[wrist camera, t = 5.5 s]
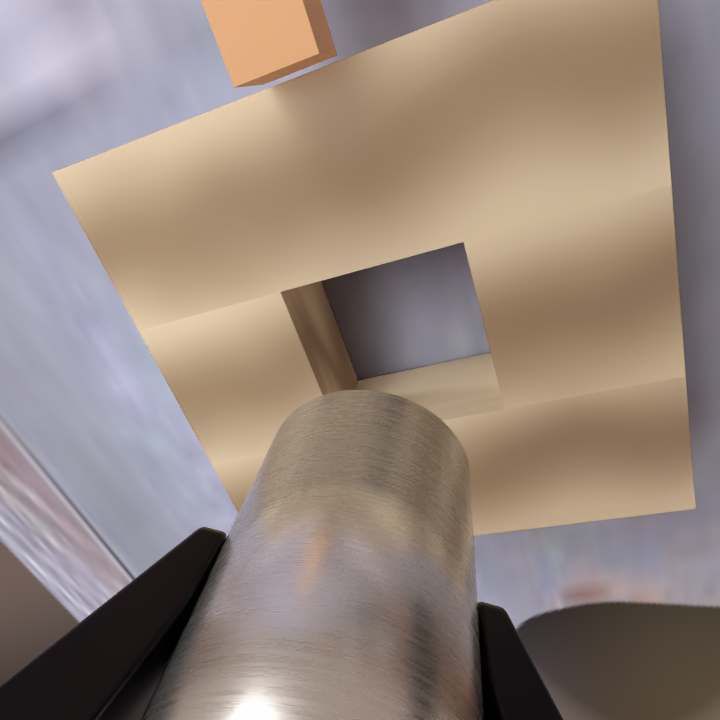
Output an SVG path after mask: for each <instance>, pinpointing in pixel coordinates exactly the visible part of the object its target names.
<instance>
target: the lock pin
mask: <svg viewBox="0 0 720 720" xmlns="http://www.w3.org/2000/svg"><path fill="white" fill-rule="evenodd" d="M201 2H202V4H203V7H204V10H205V12H206V15H207V17H208V20H209V23H210V25H211V28H212V31H213V33H214V36H215V38H216V41H217V44H218V46H219V49H220V51H221V54H222V57H223V59H224V62H225V64H226V67H227V70H228V72H229V75H230V78H231V80H232V83H233V85H234V87H243V86H254V85H263V84H266V83H268V82H271V81H273V80H276V79H278V78H281V77H283V76H286V75H288V74H291V73H294V72H296V71H299V70H301V69H304V68H306V67H309V66H311V65H314V64H316V63H319V62H322V61H324V60H327V59H329V58H332V57H334V56H337V53H336V50H335V46H334V43H333V40H332V37H331V33H330V30H329V27H328V23H327V20H326V17H325V13H324V10H323V7H322V3H321V0H201Z"/></svg>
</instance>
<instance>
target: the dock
mask: <svg viewBox="0 0 720 720" xmlns="http://www.w3.org/2000/svg"><path fill="white" fill-rule="evenodd" d="M53 175H54V177H55V179H56V181H57V183H58V184H59V186H60V188H61V190H62V192H63V194H64V195H65V197H66V199H67V201H68V203H69V205H70V206H71V208H72V210H73V212H74V214H75V215H76V217H77V219H78V221H79V223H80V225H81V226H82V228H83V230H84V232H85V234H86V236H87V237H88V239H89V241H90V243H91V245H92V247H93V248H94V250H95V252H96V254H97V256H98V257H99V259H100V261H101V263H102V265H103V267H104V268H105V270H106V272H107V274H108V276H109V278H110V279H111V281H112V283H113V285H114V287H115V289H116V290H117V292H118V294H119V296H120V298H121V300H122V301H123V303H124V305H125V307H126V309H127V310H128V312H129V314H130V316H131V318H132V320H133V321H134V323H135V325H136V327H137V329H138V331H139V332H140V334H141V336H142V338H143V340H144V342H145V343H146V345H147V347H148V349H149V351H150V352H151V354H152V356H153V358H154V360H155V362H156V363H157V365H158V367H159V369H160V371H161V373H162V374H163V376H164V378H165V380H166V382H167V384H168V385H169V387H170V389H171V391H172V393H173V395H174V396H175V398H176V400H177V402H178V404H179V405H180V407H181V409H182V411H183V413H184V415H185V416H186V418H187V420H188V422H189V424H190V426H191V427H192V429H193V431H194V433H195V435H196V437H197V438H198V440H199V442H200V444H201V446H202V447H203V449H204V451H205V453H206V455H207V457H208V458H209V460H210V462H211V464H212V466H213V468H214V469H215V471H216V473H217V475H218V477H219V479H220V480H221V482H222V484H223V486H224V488H225V489H226V491H227V493H228V495H229V497H230V499H231V500H232V502H233V504H234V506H235V508H236V510H237V511H238V513H239V511H240V509H241V507H242V505H243V503H244V501H245V498H246V496H247V494H248V492H249V490H250V488H251V486H252V484H253V482H254V479H255V477H256V475H257V473H258V471H259V469H260V467H261V465H262V463H263V460H264V458H265V456H266V454H267V452H268V450H269V448H270V446H271V444H272V441H273V439H274V437H275V435H276V433H277V431H278V429H279V428H280V426H281V425H282V423H283V422H284V421H285V420H286V419H287V417H288V416H289V415H290V414H291V413H292V412H294V411H295V410H296V409H298V408H299V407H300V406H302V405H303V404H305V403H307V402H309V401H310V400H313V399H315V398H317V397H320V396H322V395H326V394H330V393H333V392H338V391H346V390H372V391H380V392H385V393H390V394H394V395H397V396H400V397H403V398H406V399H408V400H411V401H413V402H415V403H417V404H419V405H421V406H423V407H424V408H426V409H428V410H429V411H431V412H432V413H433V414H435V415H436V416H437V417H439V418H440V419H441V420H442V421H443V422H444V423H445V424H446V425H447V426H448V427H449V428H450V429H451V430H452V431H453V433H454V434H455V435H456V437H457V438H458V439H459V441H460V443H461V445H462V446H463V448H464V450H465V453H466V456H467V458H468V462H469V467H470V473H471V492H472V511H473V530H474V536H475V535H484V534H492V533H500V532H509V531H517V530H525V529H533V528H542V527H550V526H558V525H566V524H575V523H583V522H591V521H600V520H608V519H616V518H624V517H633V516H641V515H649V514H657V513H666V512H674V511H682V510H690V509H696V508H695V494H694V481H693V468H692V454H691V441H690V427H689V414H688V400H687V387H686V373H685V360H684V346H683V333H682V319H681V306H680V293H679V279H678V266H677V252H676V239H675V225H674V212H673V198H672V185H671V171H670V158H669V145H668V131H667V118H666V104H665V91H664V77H663V64H662V50H661V37H660V23H659V10H658V0H493V1H491V2H488V3H486V4H483V5H481V6H478V7H475V8H473V9H470V10H468V11H465V12H463V13H460V14H457V15H455V16H452V17H450V18H447V19H445V20H442V21H440V22H437V23H434V24H432V25H429V26H427V27H424V28H422V29H419V30H416V31H414V32H411V33H409V34H406V35H404V36H401V37H399V38H396V39H393V40H391V41H388V42H386V43H383V44H381V45H378V46H375V47H373V48H370V49H368V50H365V51H363V52H360V53H358V54H355V55H352V56H350V57H347V58H345V59H342V60H340V61H337V62H335V63H332V64H329V65H327V66H324V67H322V68H319V69H317V70H314V71H311V72H309V73H306V74H304V75H301V76H299V77H296V78H294V79H291V80H288V81H286V82H283V83H281V84H278V85H276V86H273V87H270V88H268V89H265V90H263V91H260V92H258V93H255V94H253V95H250V96H247V97H245V98H242V99H240V100H237V101H235V102H232V103H229V104H227V105H224V106H222V107H219V108H217V109H214V110H212V111H209V112H206V113H204V114H201V115H199V116H196V117H194V118H191V119H188V120H186V121H183V122H181V123H178V124H176V125H173V126H171V127H168V128H165V129H163V130H160V131H158V132H155V133H153V134H150V135H147V136H145V137H142V138H140V139H137V140H135V141H132V142H130V143H127V144H124V145H122V146H119V147H117V148H114V149H112V150H109V151H106V152H104V153H101V154H99V155H96V156H94V157H91V158H89V159H86V160H83V161H81V162H78V163H76V164H73V165H71V166H68V167H65V168H63V169H60V170H58V171H55V172H53ZM462 242H464V246H465V250H466V254H467V258H468V262H469V266H470V270H471V274H472V278H473V282H474V286H475V290H476V295H477V299H478V303H479V307H480V311H481V315H482V319H483V323H484V327H485V331H486V335H487V339H488V343H489V347H490V353H486V354H481V355H476V356H472V357H467V358H462V359H458V360H453V361H448V362H443V363H439V364H434V365H429V366H425V367H420V368H415V369H411V370H406V371H401V372H396V373H392V374H387V375H382V376H378V377H373V378H368V379H363V380H359V381H358V379H357V376H356V373H355V371H354V368H353V365H352V363H351V360H350V357H349V355H348V352H347V349H346V347H345V344H344V341H343V339H342V336H341V333H340V331H339V328H338V325H337V322H336V320H335V317H334V314H333V312H332V309H331V306H330V304H329V301H328V298H327V296H326V293H325V290H324V288H323V285H322V282H321V281H322V280H326V279H330V278H333V277H337V276H341V275H344V274H348V273H352V272H355V271H359V270H363V269H366V268H370V267H374V266H377V265H381V264H385V263H388V262H392V261H396V260H399V259H403V258H407V257H410V256H414V255H418V254H421V253H425V252H429V251H432V250H436V249H440V248H444V247H447V246H451V245H455V244H458V243H462Z"/></svg>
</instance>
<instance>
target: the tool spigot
mask: <svg viewBox="0 0 720 720" xmlns="http://www.w3.org/2000/svg"><path fill="white" fill-rule="evenodd" d="M141 720H483V701H482V682H481V663H480V644H479V625H478V606H477V587H476V568H475V549H474V530H473V511H472V492H471V473H470V467H469V462H468V458H467V456H466V453H465V450H464V448H463V446H462V445H461V443H460V441H459V439H458V438H457V437H456V435H455V434H454V433H453V431H452V430H451V429H450V428H449V427H448V426H447V425H446V424H445V423H444V422H443V421H442V420H441V419H440V418H439V417H437V416H436V415H435V414H433V413H432V412H431V411H429V410H428V409H426V408H424V407H423V406H421V405H419V404H417V403H415V402H413V401H411V400H408V399H406V398H403V397H400V396H397V395H394V394H390V393H385V392H380V391H372V390H346V391H338V392H333V393H330V394H326V395H322V396H320V397H317V398H315V399H313V400H310V401H309V402H307V403H305V404H303V405H302V406H300V407H299V408H298V409H296V410H295V411H294V412H292V413H291V414H290V415H289V416H288V417H287V419H286V420H285V421H284V422H283V423H282V425H281V426H280V428H279V429H278V431H277V433H276V435H275V437H274V439H273V441H272V444H271V446H270V448H269V450H268V452H267V454H266V456H265V458H264V460H263V463H262V465H261V467H260V469H259V471H258V473H257V475H256V477H255V479H254V482H253V484H252V486H251V488H250V490H249V492H248V494H247V496H246V498H245V501H244V503H243V505H242V507H241V509H240V511H239V513H238V515H237V517H236V520H235V522H234V524H233V526H232V528H231V530H230V532H229V534H228V536H227V539H226V541H225V543H224V545H223V547H222V549H221V551H220V553H219V555H218V558H217V560H216V562H215V564H214V566H213V568H212V570H211V572H210V574H209V577H208V579H207V581H206V583H205V585H204V587H203V589H202V591H201V593H200V596H199V598H198V600H197V602H196V604H195V606H194V608H193V610H192V612H191V615H190V617H189V619H188V621H187V623H186V625H185V627H184V629H183V631H182V634H181V636H180V638H179V640H178V642H177V644H176V646H175V648H174V650H173V653H172V655H171V657H170V659H169V661H168V663H167V665H166V667H165V669H164V672H163V674H162V676H161V678H160V680H159V682H158V684H157V686H156V688H155V691H154V693H153V695H152V697H151V699H150V701H149V703H148V705H147V707H146V710H145V712H144V714H143V716H142V718H141Z"/></svg>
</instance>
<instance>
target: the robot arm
mask: <svg viewBox="0 0 720 720" xmlns="http://www.w3.org/2000/svg"><path fill="white" fill-rule="evenodd" d="M225 541H226V534H225V533H224V532H222V531H218V530H215V529H211V528H207V527H202V528H199V529H198V530H196V531H195V532H194V533H192V534H191V535H190V536H189V537H187V538H186V539H185V540H184V541H182V542H181V543H180V544H179V545H177V546H176V547H175V548H174V549H172V550H171V551H170V552H168V553H167V554H166V555H165V556H163V557H162V558H161V559H160V560H158V561H157V562H156V563H155V564H153V565H152V566H151V567H150V568H148V569H147V570H146V571H145V572H143V573H142V574H141V575H139V576H138V577H137V578H136V579H134V580H133V581H132V582H131V583H129V584H128V585H127V586H126V587H124V588H123V589H122V590H121V591H119V592H118V593H117V594H116V595H114V596H113V597H112V598H111V599H109V600H108V601H107V602H105V603H104V604H103V605H102V606H100V607H99V608H98V609H97V610H95V611H94V612H93V613H92V614H90V615H89V616H88V617H87V618H85V619H84V620H83V621H82V622H80V623H79V624H78V625H76V626H75V627H74V628H73V629H71V630H70V631H69V632H68V633H67V634H65V635H64V636H63V637H61V638H60V639H59V640H58V641H56V642H55V643H54V644H53V645H51V646H50V647H49V648H47V649H46V650H45V651H44V652H43V653H41V654H40V655H39V656H37V657H36V658H35V659H34V660H32V661H31V662H30V663H29V664H27V665H26V666H25V667H24V668H22V669H21V670H20V671H19V672H17V673H16V674H15V675H13V676H12V677H11V678H10V679H8V680H7V681H6V682H5V683H3V684H2V685H1V686H0V720H141V718H142V716H143V714H144V712H145V710H146V707H147V705H148V703H149V701H150V699H151V697H152V695H153V693H154V691H155V688H156V686H157V684H158V682H159V680H160V678H161V676H162V674H163V672H164V669H165V667H166V665H167V663H168V661H169V659H170V657H171V655H172V653H173V650H174V648H175V646H176V644H177V642H178V640H179V638H180V636H181V634H182V631H183V629H184V627H185V625H186V623H187V621H188V619H189V617H190V615H191V612H192V610H193V608H194V606H195V604H196V602H197V600H198V598H199V596H200V593H201V591H202V589H203V587H204V585H205V583H206V581H207V579H208V577H209V574H210V572H211V570H212V568H213V566H214V564H215V562H216V560H217V558H218V555H219V553H220V551H221V549H222V547H223V545H224V543H225ZM477 606H478V625H479V644H480V663H481V682H482V701H483V720H563V718H562V716H561V714H560V712H559V710H558V708H557V707H556V705H555V703H554V701H553V699H552V697H551V695H550V693H549V692H548V690H547V688H546V686H545V684H544V682H543V680H542V678H541V676H540V674H539V673H538V671H537V669H536V667H535V665H534V663H533V661H532V659H531V657H530V655H529V654H528V652H527V650H526V648H525V646H524V644H523V642H522V640H521V638H520V636H519V635H518V633H517V631H516V629H515V627H514V625H513V623H512V621H511V619H510V618H509V616H508V614H507V612H506V611H505V610H504V609H503V608H501V607H499V606H495V605H492V604H488V603H484V602H479V603H477Z"/></svg>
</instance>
